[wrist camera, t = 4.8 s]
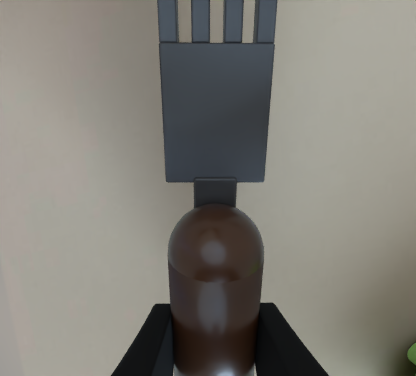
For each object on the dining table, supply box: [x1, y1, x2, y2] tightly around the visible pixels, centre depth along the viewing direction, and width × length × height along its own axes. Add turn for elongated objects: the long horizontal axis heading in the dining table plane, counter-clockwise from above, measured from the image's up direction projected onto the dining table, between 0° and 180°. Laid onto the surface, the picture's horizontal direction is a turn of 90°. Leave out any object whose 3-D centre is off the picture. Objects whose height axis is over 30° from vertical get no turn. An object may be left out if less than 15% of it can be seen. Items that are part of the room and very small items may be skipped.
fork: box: [157, 0, 277, 376], centre depth 7 cm, size 20×3×3 cm, turn 0°
